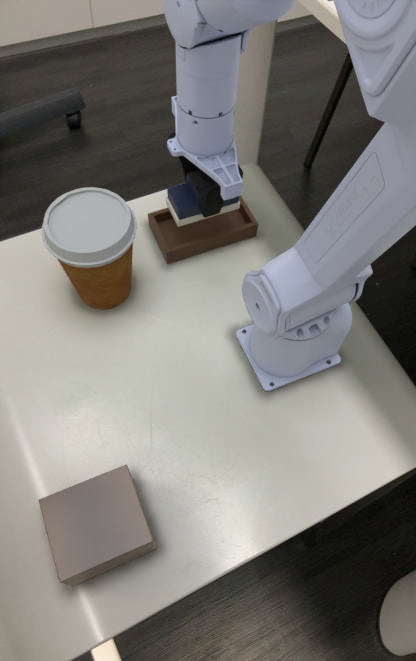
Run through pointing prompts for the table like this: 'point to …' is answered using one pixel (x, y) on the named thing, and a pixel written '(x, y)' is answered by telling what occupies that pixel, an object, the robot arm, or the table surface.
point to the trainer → (191, 203)
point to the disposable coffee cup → (93, 243)
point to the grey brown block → (96, 526)
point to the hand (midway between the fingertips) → (203, 200)
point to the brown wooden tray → (201, 232)
